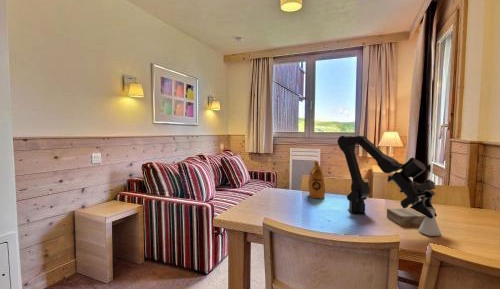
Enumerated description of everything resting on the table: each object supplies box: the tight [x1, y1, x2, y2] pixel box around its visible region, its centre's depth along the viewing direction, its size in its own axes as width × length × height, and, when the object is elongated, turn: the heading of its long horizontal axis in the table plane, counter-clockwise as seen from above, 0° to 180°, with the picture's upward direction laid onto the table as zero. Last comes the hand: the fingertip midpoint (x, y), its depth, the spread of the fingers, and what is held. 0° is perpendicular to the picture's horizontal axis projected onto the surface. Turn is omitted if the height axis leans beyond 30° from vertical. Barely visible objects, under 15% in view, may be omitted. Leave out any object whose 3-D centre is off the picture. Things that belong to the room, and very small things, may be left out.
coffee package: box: [308, 159, 326, 199], centre depth 161 cm, size 10×12×22 cm
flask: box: [418, 207, 442, 237], centre depth 103 cm, size 7×7×10 cm
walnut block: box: [386, 208, 425, 226], centre depth 118 cm, size 11×11×4 cm
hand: (434, 217), depth 102 cm, fingers closed on flask, 3 cm apart
